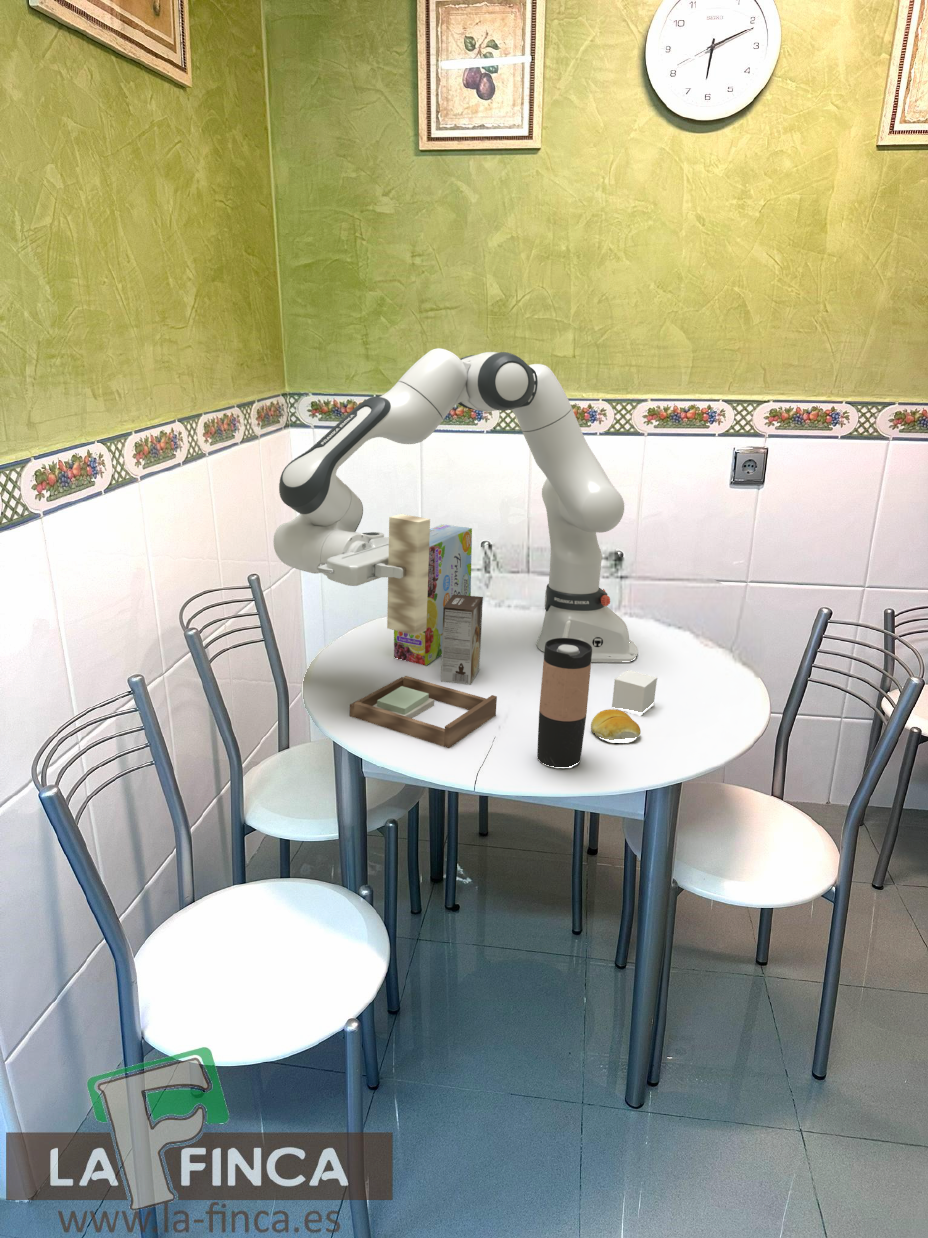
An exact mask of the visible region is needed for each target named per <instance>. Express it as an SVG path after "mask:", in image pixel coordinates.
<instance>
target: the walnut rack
mask: <svg viewBox="0 0 928 1238" xmlns="http://www.w3.org/2000/svg"><path fill="white" fill-rule="evenodd" d="M401 686H403V687H407V688H410V689H414V690H418V691H421V692H425V693H428V694H429V698H430V699H434V701H435V702H436V701H437V702H440V703H443V704H447V705H450V706H454V707H457V708H459V709H460V708H461V709H464V710H466V712H464V713H463V714H461V715H459V716H458V717H457V718H455V719H453V720H452V721H451V722H449V723H447V724H446V725H445V726H444V728H443V727H440V726H437V725H434V724H431V723H428V722H424V721H421V720H419V719H416V718H415V719H414V718H409V717H406V716H402V715H399V714H396V713H393V712H390V711H386V710H383V709H380V708H377V707H374V705H375V704H377V700H379V699H380V698H382V697H384V696H386V695H387V694H389V693H391V692H392V691H394V690H396V689H398V688H399V687H401ZM497 700H498V696H496V695H494V694H493V695H490V696H488V697H487V698H485V697H482V696H479V695H475V694H473V693H472V694H471V693H468V692H465V691H461V690H458V689H454V688H450V687H447V686H443V685H441V684H437V683H432V682H429V681H427V680H422V679H418V678H416V677H412V676H408V675H404V676H401V677H399V678H398V679H396V680H394V681H392V682H390V683H388V684H386V685H384V686H382V687H380V688H378V689H376V690H375V691H372V692H371V693H369V694H367V695H365V696H364V697H361V698H360V699H358V700H356V701H354V702H352V703H350V704H349V717H352V718H355V719H358V720H360V721H364V722H367V723H371V724H373V725H376V726H379V727H382V728H385V729H388V730H391V731H394V732H397V733H400V734H403V735H407V736H410V737H413V738H417V739H419V740H422V741H424V742H425V741H426V742H428V743H431V744H434V745H435V744H436V745H438V746H441V747H444V748H447V749H451V748H452V747H453V746H454V745H457V743H459V742H460V741H462V740H463V739H464V738H466V737H467V736H468V735H470V734H471V733H473V732H474V731H475V730H477V729H479V728H480V727H482V725H483V726H484V724H486V723H487V722H489V721H490V720H491V719H492V718H494V717H496V715H497V702H498V701H497Z"/></svg>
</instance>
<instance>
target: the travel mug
mask: <svg viewBox="0 0 928 1238" xmlns="http://www.w3.org/2000/svg"><path fill="white" fill-rule="evenodd" d="M543 653H544V654H543V665H542V675H541V676H542V677H541V683H540V684H541V687H540V696H539V697H540V698H539V710H538V730H537V732H538V733H537V752H536V753H537V757H538V758H537V757H536V758H537V760H538V759H539V760H540V761H541V762H542V763H544V764H546V765H549V766H554V767H569V766H572V765H574V764H576V763H578V762H579V761H580V762H581V759H582V751H583V742H584V736H585V729H586V728H585V727H586V721H587V713H588V712H587V711H588V703H589V702H588V701H589V691H590V677H591V668H592V667H591V665H592V662H591V658H592V647H591V645H590V644H588V643H587V642H584V641H581V640H578V639H572V638H555V639H551V640H549V641H547V642H546V644H545V651H544V652H543ZM539 760H538V761H539ZM541 762H540V763H541ZM542 763H541V764H542Z"/></svg>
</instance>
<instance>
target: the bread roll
mask: <svg viewBox="0 0 928 1238" xmlns="http://www.w3.org/2000/svg"><path fill="white" fill-rule="evenodd" d="M590 729H591V730H590V731H591V732H592V734H594V733H595V734H594V735H595V736H596V737H597V736H598V737H601V738H604V739H609V740H614V739H625V738H635V737H638V736H639V737H640V735H641V727H640V725H639V724H638V723H637V722H636V721H635V720H634V719H633V718H631V716H630V715H629V714H628V713H627V712H625V711H621V710H618V709H614V708H611V709H604V710H602V711H600V712H598V713H596V715H594V717H593V718H592V720H591V724H590ZM598 737H597V738H598ZM639 737H638V738H639Z"/></svg>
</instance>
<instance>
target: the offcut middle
mask: <svg viewBox="0 0 928 1238" xmlns="http://www.w3.org/2000/svg"><path fill="white" fill-rule="evenodd" d="M374 707H377V704H375V705H374ZM432 707H435V700H434V699H430V698H429V700H427V701H426V702H424V703H422V704H421V705H419V706H418V707H416V708H415V709H413V710H411V711H410V712H408V713H407V714H405V715H403V714H400V713H397V712H393V711H390V710H387V709H383V708H380V707H377V708H380V709H383V710H386V711H390V712H393V713H396V714H399V715H402V716H406V717H409V718H412V719H414V718H415V717H417V716H418V715H420V714H422V713H424V712H425V711H427V710H429V709H431V708H432Z"/></svg>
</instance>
